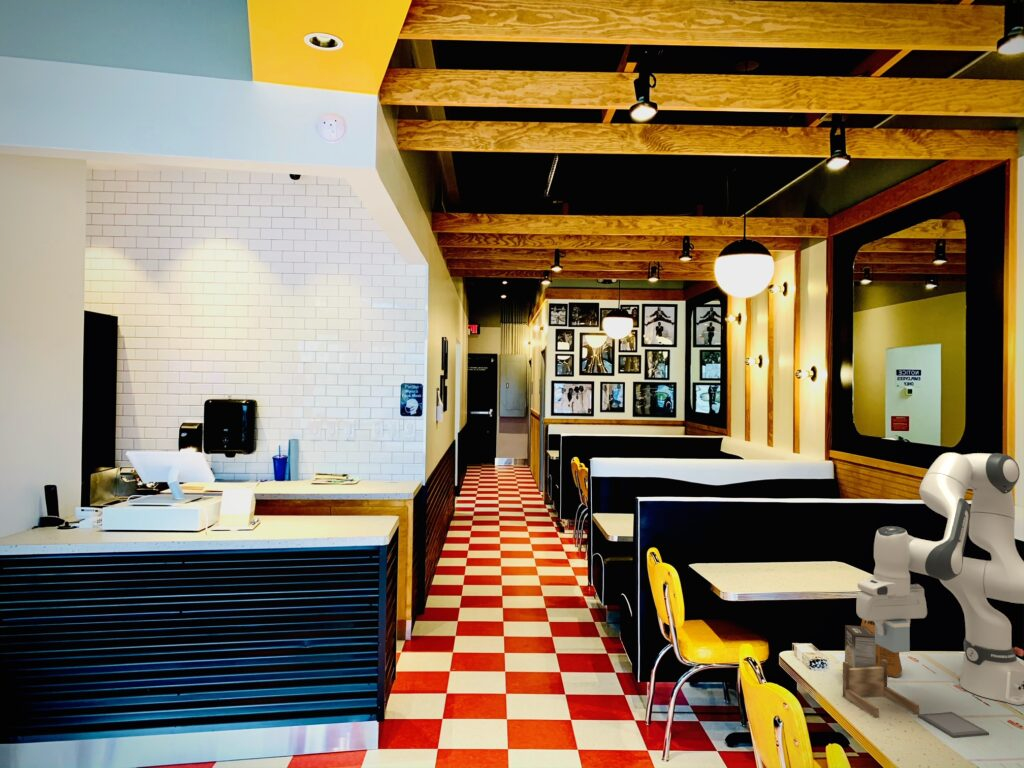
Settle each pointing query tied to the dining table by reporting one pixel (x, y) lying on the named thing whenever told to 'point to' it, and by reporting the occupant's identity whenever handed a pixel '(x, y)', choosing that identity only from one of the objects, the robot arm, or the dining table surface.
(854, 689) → the wooden stand
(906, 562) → the robot arm
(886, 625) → the block
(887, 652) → the coffee package
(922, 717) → the mat
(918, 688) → the dining table surface
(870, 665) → the coffee box
